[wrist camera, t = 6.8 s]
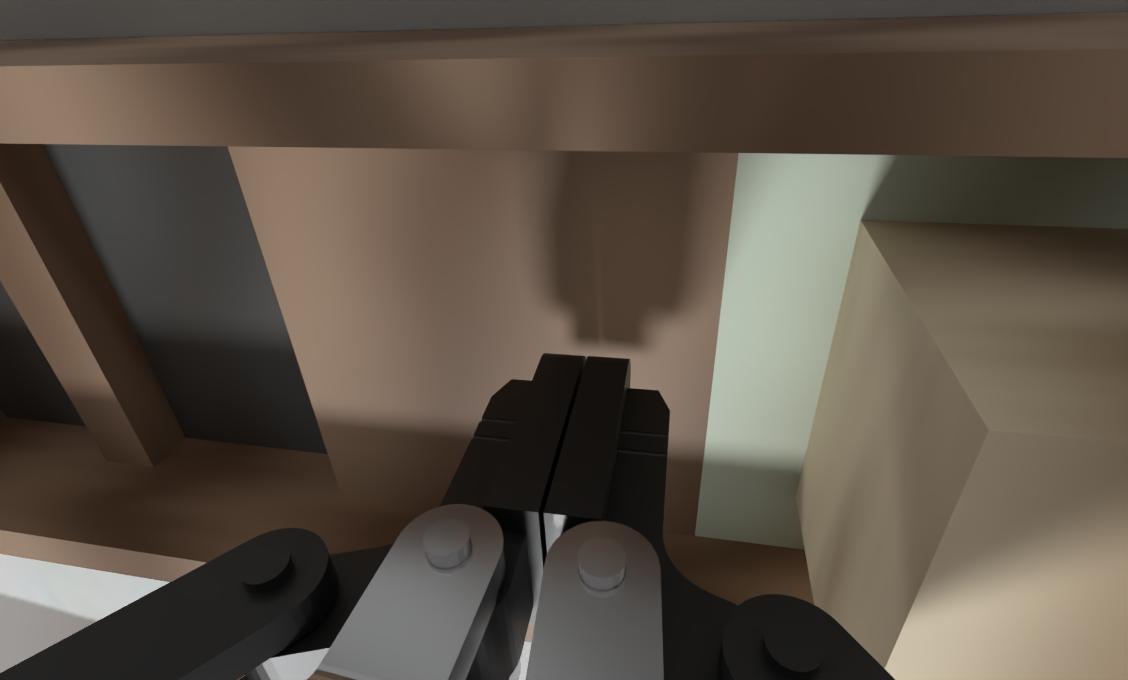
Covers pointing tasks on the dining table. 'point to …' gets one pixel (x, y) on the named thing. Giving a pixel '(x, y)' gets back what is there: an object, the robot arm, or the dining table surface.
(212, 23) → the dining table surface
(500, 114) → the track
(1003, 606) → the oak block
